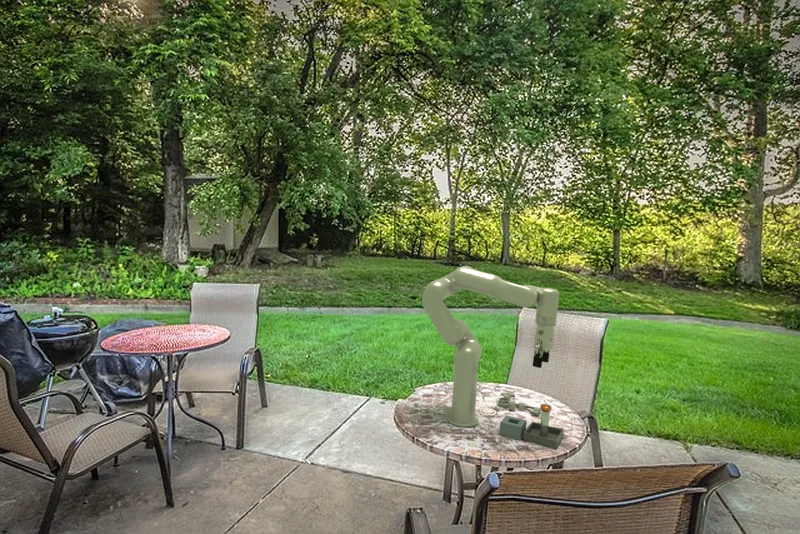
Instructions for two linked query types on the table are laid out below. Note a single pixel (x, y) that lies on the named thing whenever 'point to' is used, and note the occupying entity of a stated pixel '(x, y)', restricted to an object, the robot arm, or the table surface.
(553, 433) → the parts tray
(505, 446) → the table surface
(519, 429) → the block
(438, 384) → the table surface
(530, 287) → the robot arm
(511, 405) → the pulley system
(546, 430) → the pin
